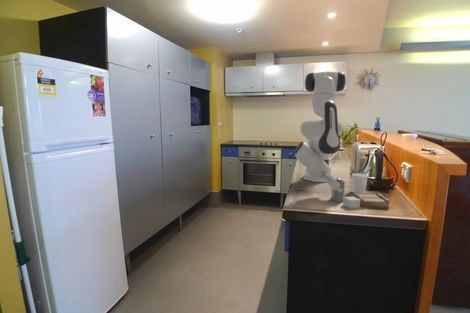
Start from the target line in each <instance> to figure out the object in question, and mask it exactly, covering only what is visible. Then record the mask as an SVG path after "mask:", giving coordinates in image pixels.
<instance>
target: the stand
mask: <svg viewBox="0 0 470 313" xmlns="http://www.w3.org/2000/svg"><path fill="white" fill-rule="evenodd" d="M352 196H353V197H355V198H358V199H360V208H367V209H369V208H371V209H389V207H390V199H388V198H386V197H385V196H383V195H382V194H381V193H380V192H376V193H375V194H374V193H372V194H371V193H365V194H357V193H356V192H353V193H352Z"/></svg>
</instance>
